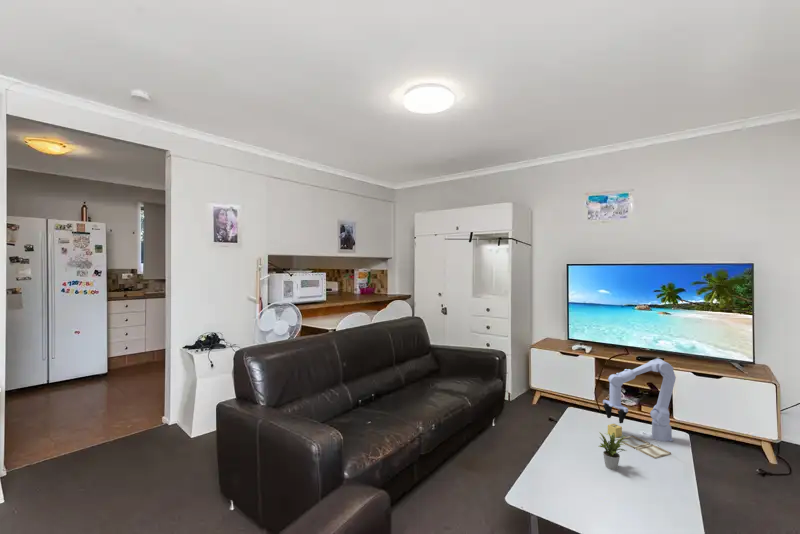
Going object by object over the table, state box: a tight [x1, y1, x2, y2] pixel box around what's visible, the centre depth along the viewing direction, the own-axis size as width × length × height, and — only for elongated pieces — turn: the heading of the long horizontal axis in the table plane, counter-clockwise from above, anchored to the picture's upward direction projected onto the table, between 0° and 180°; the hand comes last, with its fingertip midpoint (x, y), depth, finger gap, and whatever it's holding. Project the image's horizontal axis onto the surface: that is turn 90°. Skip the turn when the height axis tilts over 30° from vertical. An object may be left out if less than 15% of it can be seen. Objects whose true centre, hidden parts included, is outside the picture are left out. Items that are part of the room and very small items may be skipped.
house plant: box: [598, 431, 628, 471], centre depth 185 cm, size 14×14×16 cm
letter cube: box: [607, 423, 623, 437], centre depth 219 cm, size 5×5×5 cm
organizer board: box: [604, 432, 672, 459], centre depth 209 cm, size 13×31×1 cm, turn 22°
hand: (615, 420), depth 219 cm, fingers open, 7 cm apart
